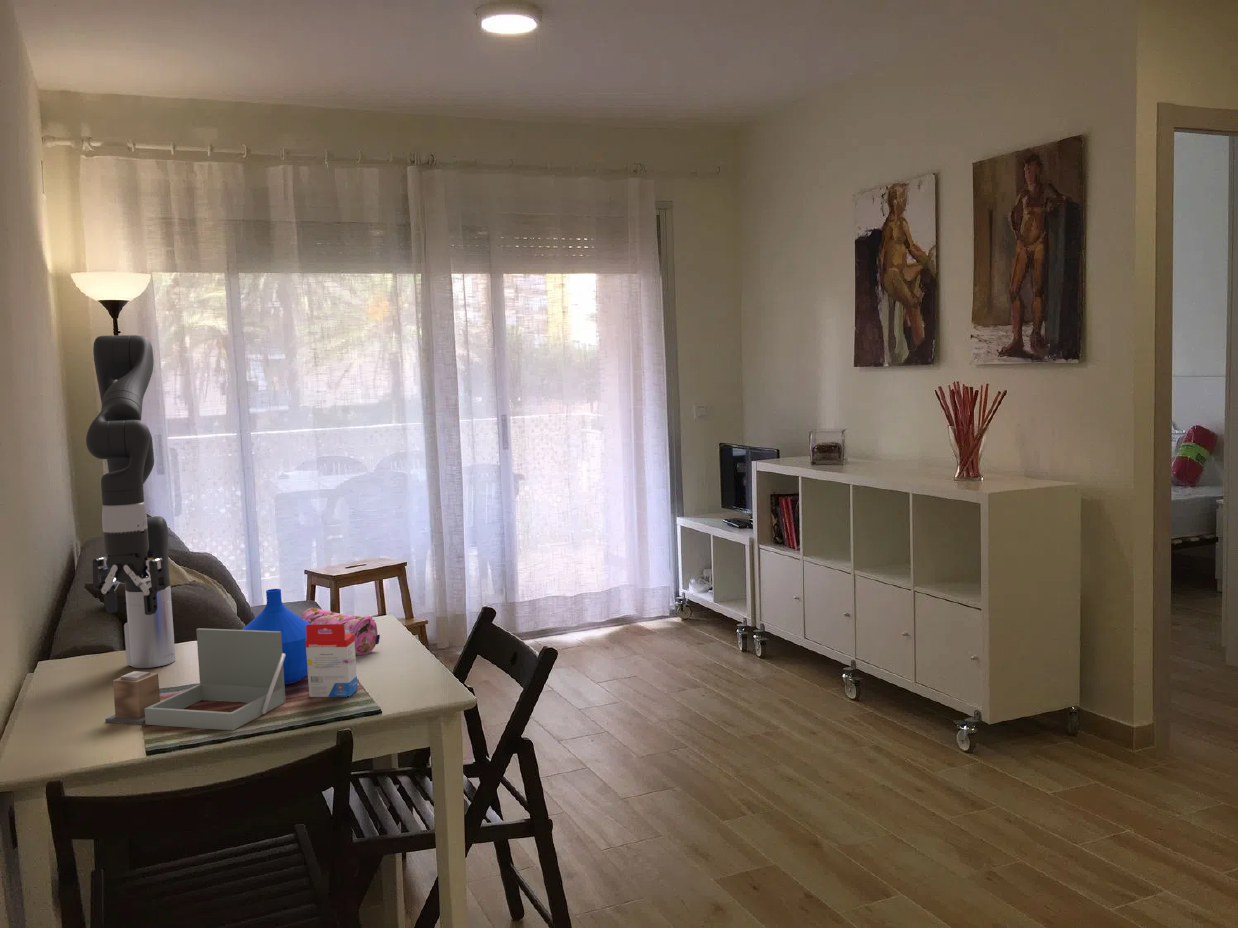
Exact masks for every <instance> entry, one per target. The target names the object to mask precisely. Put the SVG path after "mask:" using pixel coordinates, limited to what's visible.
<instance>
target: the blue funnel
mask: <svg viewBox="0 0 1238 928" xmlns="http://www.w3.org/2000/svg"><path fill="white" fill-rule="evenodd" d="M265 594H266V595H265V596H266V605H265V607H264V608H263V609H262V611H261V612H260V613H259V614H258V615H257V616H255V617H254V618H253V620H251V621H250V622H249V623H247V624H246V626H244V627H243V628H242V629H241V630H256V631H281V635H282V652H283V653H284V654H286V655H285V658H284V661H283V669H284V685H290V684H293V683H296V682H299V681H301V680H303V679H304V678H305V677H306V676H308V669H307V655H306V643H305V640H306V625H307V624H310V623H309V622H307V621H305V620H304V619H302V618H300V616H299V615H297V614H296V613H294V612H293V611H291V610H290V609H288V608H287V607H286V606H285V605H284V604H283V601H282V588H271V589H266V590H265ZM319 633H320V631H319Z"/></svg>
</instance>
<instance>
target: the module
mask: <svg viewBox="0 0 1238 928" xmlns="http://www.w3.org/2000/svg"><path fill="white" fill-rule="evenodd" d="M112 686H113V687H112V688H113V698H114V699H113V700H114V701H113V702H114V715H115V717H121V718H136V719H141V718H143V717H145V708H147V707H149V706H151V705H154V704H156V703H158V702H160V701H161V697H160V696H161V693H160V679H159V673H157V672H151V671H136V670H133V671H132V672H129V673H126V674H124V675H121V676H120V677H118V678H115V679H113V680H112Z"/></svg>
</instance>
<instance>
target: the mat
mask: <svg viewBox="0 0 1238 928" xmlns="http://www.w3.org/2000/svg"><path fill="white" fill-rule="evenodd" d="M104 721H105V723H113V724H129V725H143V724H146V722H145V717H143V718H141V719H136V718H121V717H115V714H113V715H111V716H109V717H107V718H105V720H104Z"/></svg>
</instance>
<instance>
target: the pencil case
mask: <svg viewBox="0 0 1238 928" xmlns="http://www.w3.org/2000/svg"><path fill="white" fill-rule="evenodd" d="M299 617H300V618H302V619H304V620H305V621H307V622H309V623H310V624H344V625H345V634H353V633H354V642H355V656H356V655H357V656H362V655H366V654H369V653H371V652H372V651H373V650H374V648H375V647H376V645H379V643H380V638H381V634H378V627H377V623H376V622H377V621H376V620H375V619H373V616H370V615H366V616H360V615H349V614H344V613H338V612H334V611H331V610H328V609H323V608H322V609H321V608H318V607H309V608H308V609H306V610H305V611H304V612H303V613H302V614H301V615H300V616H299ZM319 631H320V633H332V632H333V631H332V630H328V629H326V628H325V629H323V630H319Z"/></svg>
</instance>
